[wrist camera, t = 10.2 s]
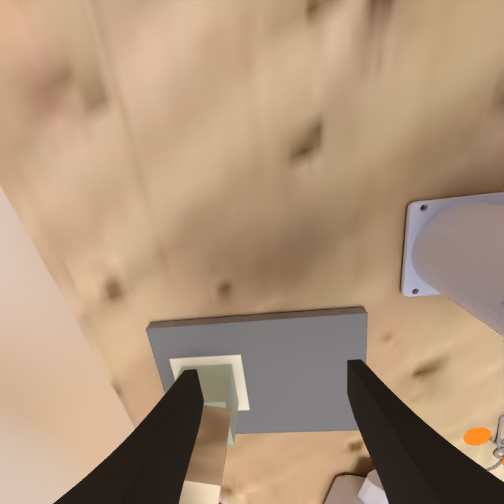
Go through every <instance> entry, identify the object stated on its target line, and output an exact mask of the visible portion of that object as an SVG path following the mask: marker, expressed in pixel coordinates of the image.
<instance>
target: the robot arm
mask: <svg viewBox="0 0 504 504" xmlns="http://www.w3.org/2000/svg"><path fill="white" fill-rule="evenodd" d="M422 205H424V209H423V210H420V207H421V206H422ZM414 289H416V290H415V291H414V292H412V291H413V290H414ZM401 293H402V294H403V295H404V296H406V297H414V296H428V295H441V294H442V295H444V296H445V297H447V298H448V299H450V300H451V301H453V302H454V303H455V304H457V305H458V306H460V307H461V308H463V309H464V310H466V311H467V312H468V313H470V314H471V315H473V316H474V317H476V318H477V319H479V320H480V321H481V322H483V323H484V324H486V325H487V326H489V327H490V328H492V329H493V330H495V331H496V332H497V333H499V334H500V335H502V336H503V337H504V192H498V193H488V194H479V195H470V196H461V197H452V198H443V199H434V200H424V201H415V202H412V203H410V204H409V206H408V208H407V219H406V232H405V245H404V257H403V270H402V282H401ZM347 395H348V398H349V402H350V405H351V408H352V412H353V415H354V418H355V421H356V423H357V426H358V428H359V430H360V433H361V435H362V438H363V440H364V442H365V445H366V447H367V450H368V452H369V454H370V457H371V459H372V462H373V464H374V466H375V469H376V471H377V474H378V476H379V478H380V481H381V484H382V486H383V489H384V491H385V494H386V497H387V500H388V503H389V504H504V482H503V481H501V480H500V479H498V478H497V477H495V476H494V475H493V474H491V473H490V472H488V471H487V470H486V469H484V468H483V467H482V466H480V465H479V464H477V463H476V462H475V461H473V460H472V459H470V458H469V457H468V456H466V455H465V454H464V453H462V452H461V451H460V450H458V449H457V448H456V447H454V446H453V445H452V444H451V443H449V442H448V441H447V440H446V439H444V438H443V437H442V436H441V435H439V434H438V433H437V432H436V431H435V430H433V429H432V428H431V427H430V426H429V425H428V424H426V423H425V422H424V421H423V420H422V419H421V418H420V417H418V416H417V415H416V414H415V413H414V412H413V411H412V410H411V409H410V408H409V407H408V406H406V405H405V404H404V403H403V402H402V401H401V400H400V399H399V398H398V397H397V396H396V395H395V394H394V393H393V392H392V391H391V390H390V389H389V388H388V387H387V386H386V385H385V384H384V383H383V382H382V381H381V380H380V379H379V378H378V377H377V376H376V375H375V374H374V372H373V371H372V370H371V369H370V368H369V367H368V366H367V365H366V364H365V363H364V362H363V361H362V360H361V359H355V360H347ZM203 405H204V398H203V394H202V389H201V385H200V381H199V377H198V373H197V369H188V370H184V371H183V372H182V373H181V375H180V376H179V377H178V378H177V380H176V381H175V382H174V384H173V385H172V386H171V387H170V389H169V390H168V391H167V392H166V394H165V395H164V396H163V397H162V399H161V400H160V401H159V402H158V404H157V405H156V406H155V407H154V408H153V410H152V411H151V412H150V413H149V414H148V415H147V417H146V418H145V419H144V420H143V421H142V422H141V423H140V424H139V426H138V427H137V428H136V429H135V430H134V431H133V432H132V433H131V434H130V435H129V436H128V437H127V438H126V440H125V441H124V442H123V443H122V444H121V445H120V446H119V447H118V448H117V449H116V450H115V451H114V452H112V453H111V455H110V456H108V457H107V458H106V459H105V460H104V461H103V462H102V463H101V464H99V465H98V466H97V467H96V468H95V469H94V470H93V471H92V472H91V473H89V474H88V475H87V476H86V477H85V478H84V479H83V480H82V481H80V482H79V483H78V484H77V485H76V486H74V487H73V488H72V489H71V490H70V491H68V492H67V493H66V494H65V495H63V496H62V497H61V498H60V499H58V500H57V501H56V502H55V503H53V504H179V501H180V496H181V492H182V488H183V484H184V480H185V477H186V473H187V470H188V466H189V463H190V459H191V456H192V452H193V449H194V445H195V441H196V438H197V434H198V431H199V427H200V423H201V417H202V411H203Z"/></svg>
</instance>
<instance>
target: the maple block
mask: <svg viewBox="0 0 504 504" xmlns="http://www.w3.org/2000/svg"><path fill="white" fill-rule="evenodd" d="M231 411H232V409H227V408H220V407H213V406H206V405H203V411H202V417H201V423H200V427H199V431H198V434H197V438H196V441H195V445H194V449H193V452H192V456H191V459H190V463H189V466H188V470H187V473H186V477H185V480H184V484H183V488H182V492H181V496H180V501H179V504H219V499H220V492H221V485H222V478H223V471H224V464H225V457H226V450H227V442H228V434H229V427H230V419H231Z"/></svg>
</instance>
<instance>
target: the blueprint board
mask: <svg viewBox="0 0 504 504" xmlns="http://www.w3.org/2000/svg"><path fill="white" fill-rule="evenodd" d="M367 318H368V313H367V312H366V310H365V309H364V307H355V308H342V309H328V310H314V311H301V312H287V313H273V314H260V315H246V316H232V317H219V318H205V319H191V320H178V321H164V322H151V323H150V324H149V325H148V327H147V328H146V332H147V335H148V338H149V341H150V345H151V348H152V351H153V355H154V358H155V361H156V365H157V368H158V371H159V375H160V378H161V381H162V385H163V388H164V391H165V394H166V392H167V391H168V390H169V389H170V387H171V386H172V385H173V384H174V382H175V380H176V378H177V376H178V373H179V371H180V369H181V367H185V366H204V365H222V364H232V368H233V373H234V379H235V385H236V390H237V396H238V401H239V406H238V415H237V423H236V432H235V434H246V433H281V432H316V431H350V430H359V428H358V426H357V423H356V421H355V418H354V415H353V412H352V408H351V405H350V402H349V398H348V395H347V360H355V359H361V360H362V361H363V362H364V363H365V364H366V348H367Z"/></svg>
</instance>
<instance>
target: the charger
mask: <svg viewBox="0 0 504 504" xmlns="http://www.w3.org/2000/svg"><path fill="white" fill-rule="evenodd" d="M324 504H389V503H388V500H387V497H386V494H385V491H384V489H383V486H382V484H381V481H380V478H379V476H378V474H377V471H376V469H374V470H373V471H371V472H369V473H368V475H367V477H366V478H364V477H359V476H354V475H340V476H338V477H337V478H336V479H335V481H334V483H333V486H332V488H331V490H330V492H329V494H328V497H327V499H326V501H325V503H324Z"/></svg>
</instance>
